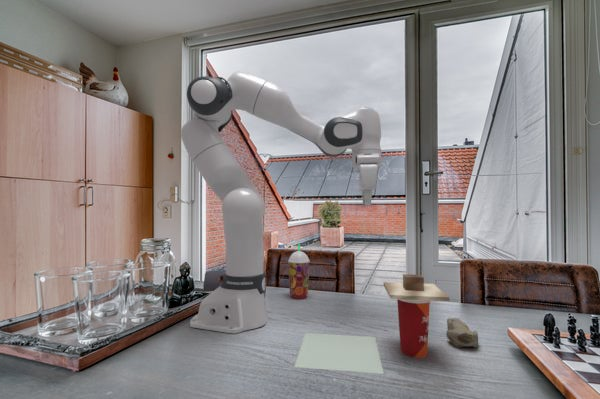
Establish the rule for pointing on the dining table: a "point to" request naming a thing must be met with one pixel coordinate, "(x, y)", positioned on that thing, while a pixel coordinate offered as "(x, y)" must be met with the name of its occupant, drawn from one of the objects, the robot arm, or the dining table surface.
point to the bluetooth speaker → (212, 279)
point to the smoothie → (298, 274)
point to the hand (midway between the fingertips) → (366, 206)
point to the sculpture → (461, 334)
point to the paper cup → (413, 326)
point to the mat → (339, 353)
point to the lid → (414, 289)
